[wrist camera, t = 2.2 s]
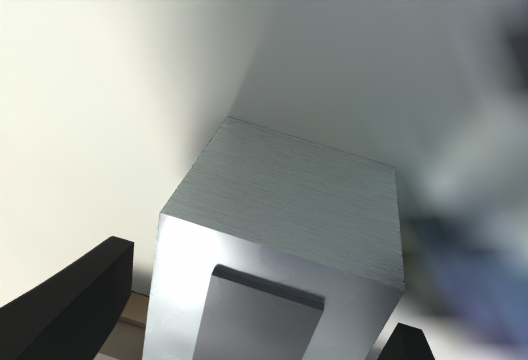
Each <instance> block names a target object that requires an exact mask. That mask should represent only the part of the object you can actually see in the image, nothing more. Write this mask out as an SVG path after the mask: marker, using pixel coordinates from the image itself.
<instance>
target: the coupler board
mask: <svg viewBox="0 0 528 360" xmlns="http://www.w3.org/2000/svg"><path fill="white" fill-rule="evenodd" d="M149 298H150V297H147V296H144V295H141V294H137V293H134V292H131V296H130V298H129V300H128V302H127V304H126V306H125V308H124V310H123V312H122V314H121V316H120V318H119V319H118V321H117V323H116V325H115V327H114V329H113V330H112V332H111V334H110V335H109V337H108V338H107V340H106V341H105V343H104V344H103V346H102V347H101V349H100V350H99V352H98V353H97V355H96V356H95V358H94V359H93V360H142V357H143V348H144V340H145V332H146V323H147V315H148V307H149Z"/></svg>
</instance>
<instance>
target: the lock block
mask: <svg viewBox="0 0 528 360" xmlns="http://www.w3.org/2000/svg"><path fill="white" fill-rule="evenodd" d="M404 292H405V285H404V273H403V261H402V249H401V237H400V225H399V213H398V201H397V189H396V177H395V167H392V166H389V165H386V164H382V163H379V162H376V161H372V160H369V159H366V158H362V157H359V156H356V155H353V154H349V153H346V152H343V151H339V150H336V149H333V148H329V147H326V146H323V145H320V144H316V143H313V142H310V141H306V140H303V139H300V138H296V137H293V136H290V135H287V134H283V133H280V132H277V131H273V130H270V129H267V128H264V127H260V126H257V125H254V124H250V123H247V122H244V121H240V120H237V119H234V118H231V117H227V118H226V119H225V120H224V122H223V123H222V125H221V126H220V128H219V129H218V130H217V132H216V133H215V135H214V136H213V137H212V139H211V140H210V142H209V143H208V145H207V146H206V147H205V149H204V150H203V152H202V153H201V155H200V156H199V157H198V159H197V160H196V162H195V163H194V165H193V166H192V167H191V169H190V170H189V172H188V173H187V175H186V176H185V177H184V179H183V180H182V182H181V183H180V185H179V186H178V187H177V189H176V190H175V192H174V193H173V195H172V196H171V197H170V199H169V200H168V202H167V203H166V205H165V206H164V207H163V209H162V210H161V212H160V215H159V223H158V232H157V240H156V248H155V257H154V265H153V273H152V282H151V290H150V298H149V307H148V315H147V323H146V332H145V340H144V348H143V357H142V360H365V358H366V357H367V355H368V353H369V352H370V350H371V348H372V346H373V345H374V343H375V341H376V340H377V338H378V336H379V334H380V333H381V331H382V329H383V328H384V326H385V324H386V322H387V321H388V319H389V317H390V316H391V314H392V312H393V310H394V309H395V307H396V305H397V304H398V302H399V300H400V298H401V297H402V295H403V293H404Z"/></svg>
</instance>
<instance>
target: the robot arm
mask: <svg viewBox="0 0 528 360" xmlns="http://www.w3.org/2000/svg"><path fill="white" fill-rule="evenodd" d="M133 253H134V242H131V241H128V240H125V239H122V238H118V237H115V236H111V237H109V238H108V239H106V240H105V241H103V242H102V243H101V244H99V245H98V246H96V247H95V248H94V249H92V250H91V251H89V252H88V253H86V254H85V255H84V256H82V257H81V258H79V259H78V260H76V261H75V262H73V263H72V264H70V265H69V266H67V267H66V268H64V269H63V270H61V271H60V272H58V273H57V274H55V275H54V276H52V277H51V278H49V279H47V280H46V281H44V282H43V283H41V284H40V285H38V286H36V287H35V288H33V289H32V290H30V291H28V292H26V293H25V294H23V295H21V296H20V297H18V298H16V299H15V300H13V301H11V302H9V303H8V304H6V305H4V306H3V307H1V308H0V360H93V359H94V358H95V356H96V355H97V353H98V352H99V350H100V349H101V347H102V346H103V344H104V343H105V341H106V340H107V338H108V337H109V335H110V334H111V332H112V330H113V329H114V327H115V325H116V323H117V321H118V319H119V318H120V316H121V314H122V312H123V310H124V308H125V306H126V304H127V302H128V300H129V298H130V296H131V287H132V270H133ZM377 360H435V358H434V356H433V354H432V351H431V349H430V347H429V344H428V342H427V340H426V338H425V335H424V333H423V331H422V330H421V329H418V328H415V327H411V326H408V325H405V324H401V323H398V324H397V326H396V327H395V329H394V331H393V333H392V334H391V336H390V338H389V340H388V341H387V343H386V345H385V347H384V348H383V350H382V352H381V354H380V355H379V357H378V359H377Z"/></svg>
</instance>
